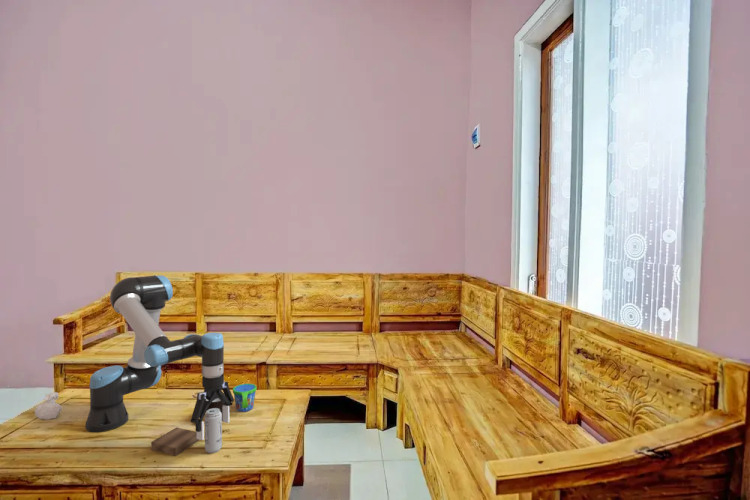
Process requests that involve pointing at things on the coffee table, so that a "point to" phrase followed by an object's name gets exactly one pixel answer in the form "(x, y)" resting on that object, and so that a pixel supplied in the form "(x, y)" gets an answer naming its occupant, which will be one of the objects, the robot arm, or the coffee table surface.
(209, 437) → the energy drink can
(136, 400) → the coffee table surface
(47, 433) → the coffee table surface
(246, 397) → the snack cup
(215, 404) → the coffee mug
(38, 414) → the tied plastic bag
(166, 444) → the walnut board
